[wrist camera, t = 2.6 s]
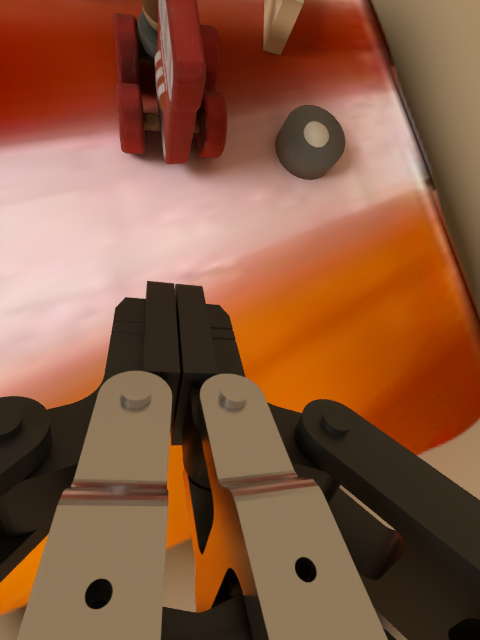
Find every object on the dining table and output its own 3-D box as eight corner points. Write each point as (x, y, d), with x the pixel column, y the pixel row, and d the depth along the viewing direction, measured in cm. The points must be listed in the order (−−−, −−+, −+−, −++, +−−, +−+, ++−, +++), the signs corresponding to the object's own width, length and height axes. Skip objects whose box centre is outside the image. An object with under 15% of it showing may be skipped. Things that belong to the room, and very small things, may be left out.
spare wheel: (267, 126, 30) (277, 106, 27) (320, 119, 31) (333, 100, 29) (287, 184, 29) (299, 169, 27) (340, 174, 31) (355, 159, 29)
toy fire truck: (204, 40, 29) (240, -133, 19) (219, 188, 28) (267, 80, 18) (111, 26, 27) (98, -175, 17) (121, 184, 26) (113, 60, 16)
